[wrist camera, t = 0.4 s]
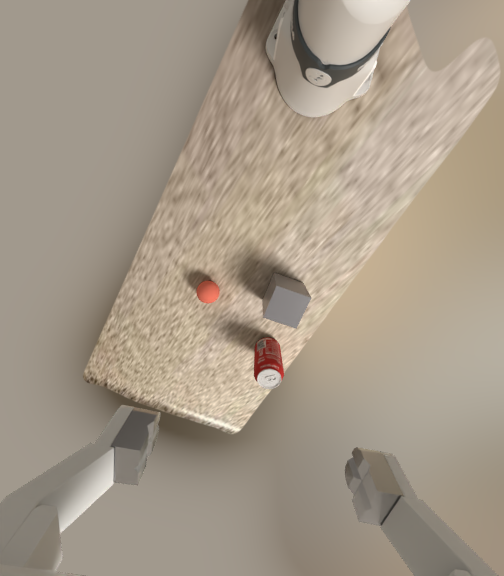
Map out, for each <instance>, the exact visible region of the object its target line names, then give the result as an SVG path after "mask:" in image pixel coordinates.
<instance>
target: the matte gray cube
mask: <svg viewBox="0 0 504 576" xmlns="http://www.w3.org/2000/svg"><path fill="white" fill-rule="evenodd" d="M310 300H311V296H310V295H309V293H308V291H307V289H306V287H305V285H304V283H302V282H299V281H296V280H294V279H291V278H288V277H285V276H282V275H280V274H277V273H273V276H272V278H271V280H270V283H269V285H268V288H267V290H266V293H265V295H264V298H263V300H262V301H263V318H266V319H269V320H272V321H275V322H278V323H281V324H284V325H287V326H290V327H293V328H297V326H298V324H299V322H300V320H301V318H302V316H303V314H304V312H305V310H306V308H307V306H308V304H309V302H310Z"/></svg>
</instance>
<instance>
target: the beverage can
mask: <svg viewBox="0 0 504 576" xmlns="http://www.w3.org/2000/svg"><path fill="white" fill-rule="evenodd" d="M283 376H284V371H283V364H282V357H281V350H280V345H279V343H278V342H277V341H276V340H275V339H273V338H269V337H266V338H262V339H260V340H259V341H258V342H257V343H256V345H255V357H254V377H255V379H256V381H257V382H258V384H259V385H260V386H261V387H263V388H266V389H272V388H275V387H277V386H278V385H279V384H280V383H281V381H282V378H283Z"/></svg>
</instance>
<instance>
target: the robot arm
mask: <svg viewBox="0 0 504 576" xmlns="http://www.w3.org/2000/svg"><path fill="white" fill-rule="evenodd" d="M410 1H411V0H285V3H284V5H283V7H282V9H281V11H280V13H279V15H278V18H277V20H276V22H275V24H274V26H273V28H272V30H271V32H270V34H269V36H268V39H267V41H266V46H265V49H266V53H267V56H268V58H269V59H270V61H271V63H272V64H273V66H274V69H275V74H276V80H277V85H278V88H279V91H280V93H281V95H282V97H283V99H284V101H285V102H286V103H287V104H288V106H289V107H290V108H291V109H293V110H294V111H295V112H297V113H299V114H301V115H304V116H307V117H321V116H325V115H328V114H330V113H332V112H334V111H335V110H337V109H338V108H339V107H341V106H342V105H343V104H344V103H346V102H347V101H349V100H351V99H355V98H358V97H361V96H363V95H364V94H365V93H366V92H367V91H368V89H369V87H370V84H371V80H372V76H373V72H374V69H375V67H376V65H377V57H378V53H379V50H380V47H381V45H382V43H383V41H384V40H385V38H386V36H387V34H388V32H389V30H390V28H391V26H392V24H393V23H394V22H395V20H396V19H397V18H398V16H399V15H400V14H401V13H402V11H403V10H404V9H405V7H406V6H407V5H408V3H409V2H410ZM275 36H277V39H276V40H275V38H274V37H275ZM159 420H160V413H159V412H155V411H150V410H145V409H141V408H136V407H130V406H125V405H122V406H121V407H119V408H118V410H117V411H116V413H115V414H114V416H113V417H112V418H111V420H110V421H109V423H108V425H107V426H106V427H105V429H104V430H103V432H102V433H101V435H100V436H99V438H98V439H97V441H96V442H95V444H92V443H90V444H88V445H87V446H85V447H83V448H82V449H80V450H79V451H77V452H76V453H74V454H73V455H71V456H69V457H68V458H66V459H65V460H63V461H61V462H60V463H58V464H57V465H55V466H54V467H52V468H50V469H49V470H47V471H46V472H44V473H43V474H41V475H39V476H38V477H36V478H35V479H33V480H32V481H30V482H28V483H27V484H25V485H24V486H23V487H21V488H19V489H17V490H16V491H14V492H13V493H11V494H9V495H8V496H6V497H5V499H4V500H3V501H2V502H1V503H0V576H84V575H77V574H70V573H63V572H56V570H57V568H58V566H59V564H60V562H61V560H62V559H63V556H62V547H61V537H60V533H61V532H62V531H63V530H64V529H65V528H67V527H68V526H69V525H70V524H71V523H72V522H73V521H74V520H75V519H76V518H77V517H78V516H80V515H81V514H82V513H83V512H84V511H85V510H86V509H87V508H88V507H89V506H90V505H91V504H92V503H93V502H95V501H96V500H97V499H98V498H99V497H100V496H101V495H102V494H103V493H104V492H105V491H106V490H108V489H109V488H110V487H111V486H112V485H113V482H116V483H123V484H131V485H138V483H139V481H140V479H141V477H142V474H143V471H144V469H145V467H146V461H147V457H148V456H149V455H150V454H151V453H152V451H153V448H154V446H155V443H156V439H157V436H158V431H159V426H158V425H157V424H158V422H159ZM352 455H353V458H351V459H349V460H348V461H347V464H346V466H345V477H346V482H347V485H348V488H349V489H350V490H351V492H352V493H353V494H354V496H353V500H352V501H353V505H354V508H355V511H356V514H357V517H358V520H359V522H363V523H369V524H374V525H379V526H381V529H382V530H383V532H384V533H385V535H386V536H387V538H388V539H389V540H390V542H391V543H392V544H393V546H394V547H395V549H396V550H397V552H398V553H399V555H400V556H401V557H402V559H403V560H404V561H405V563H406V564H407V566H408V567H409V569H410V570H411V572H412V573H413V575H414V576H498V575H497V574H496V573H495V572H494V571H493V570H492V569H491V568H490V567H489V566H488V565H487V564H486V563H485V562H484V561H483V560H482V559H481V558H480V557H479V556H478V555H477V554H476V553H475V552H474V551H473V550H472V549H471V548H470V547H469V546H468V545H467V544H466V543H465V542H464V541H463V540H462V539H461V538H460V537H459V536H458V535H457V534H456V533H455V532H454V531H453V530H452V529H451V528H450V527H449V526H448V525H447V524H446V523H445V522H444V521H443V520H442V519H441V518H440V517H439V516H438V515H437V514H435V512H434V511H433V510H432V509H431V508H430V507H429V506H428V505H427V504H426V503H425V502H424V501H423V500H420V499H418V498H417V496H416V494H415V492H414V490H413V488H412V486H411V485H410V483H409V481H408V479H407V477H406V475H405V474H404V472H403V470H402V468H401V466H400V464H399V462H398V461H397V459H396V457H395V456H394V455H393V454H392V453H386V452H381V451H376V450H370V449H364V448H358V447H356V448H355V449H354V450H353V451H352Z"/></svg>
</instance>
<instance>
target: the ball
mask: <svg viewBox="0 0 504 576" xmlns="http://www.w3.org/2000/svg"><path fill="white" fill-rule="evenodd" d="M197 296H198V298H199V300H201V301H202V302H204V303H212V302H214V301H215V300H217V298H218V296H219V287H218V286H217V284H216V283H214V282H212V281H204V282H202V283H200V284H199V286H198V288H197Z"/></svg>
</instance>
